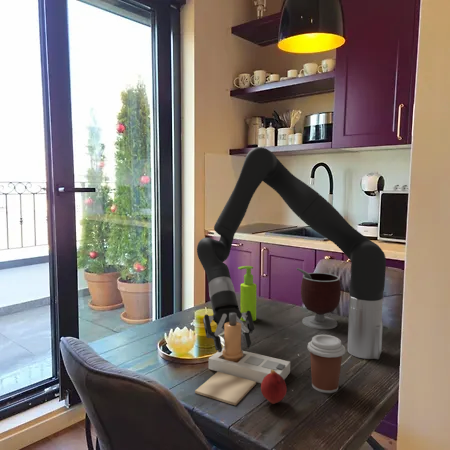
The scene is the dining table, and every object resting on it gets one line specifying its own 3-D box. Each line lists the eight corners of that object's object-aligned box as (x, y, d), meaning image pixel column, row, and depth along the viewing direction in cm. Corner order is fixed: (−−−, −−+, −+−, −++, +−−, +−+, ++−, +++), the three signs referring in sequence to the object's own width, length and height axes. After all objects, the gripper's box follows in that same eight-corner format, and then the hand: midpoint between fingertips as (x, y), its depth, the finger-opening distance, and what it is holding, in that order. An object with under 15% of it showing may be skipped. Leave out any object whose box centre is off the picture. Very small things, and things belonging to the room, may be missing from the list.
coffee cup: (339, 400, 91) (341, 350, 89) (301, 389, 95) (302, 342, 94) (347, 382, 99) (349, 337, 97) (312, 374, 103) (313, 330, 102)
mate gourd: (336, 317, 147) (338, 265, 145) (342, 331, 133) (344, 273, 131) (295, 315, 149) (296, 264, 147) (296, 328, 135) (297, 272, 133)
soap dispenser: (235, 317, 146) (235, 265, 144) (252, 315, 149) (253, 264, 146) (240, 322, 141) (241, 268, 139) (258, 320, 143) (259, 267, 141)
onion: (283, 396, 92) (284, 363, 91) (288, 410, 86) (289, 376, 86) (259, 396, 92) (259, 364, 91) (262, 410, 86) (262, 376, 85)
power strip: (290, 372, 104) (290, 360, 103) (277, 387, 96) (278, 374, 96) (224, 356, 113) (224, 345, 113) (208, 369, 106) (208, 357, 105)
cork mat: (255, 384, 98) (255, 381, 98) (235, 405, 88) (235, 403, 88) (217, 373, 103) (217, 371, 103) (195, 392, 93) (195, 390, 93)
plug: (246, 364, 108) (246, 312, 107) (236, 373, 103) (237, 318, 102) (228, 360, 111) (228, 309, 109) (218, 368, 106) (218, 315, 104)
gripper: (201, 291, 110) (211, 347, 100) (248, 287, 114) (262, 341, 104) (197, 303, 116) (206, 358, 106) (242, 300, 120) (255, 351, 110)
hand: (234, 349), depth 105 cm, fingers open, 7 cm apart
